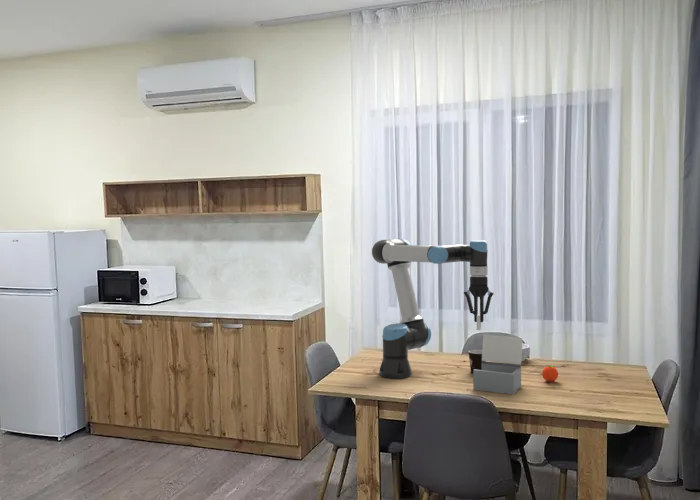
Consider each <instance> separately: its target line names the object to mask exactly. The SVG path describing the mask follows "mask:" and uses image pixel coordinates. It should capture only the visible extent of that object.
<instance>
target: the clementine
mask: <svg viewBox="0 0 700 500" xmlns="http://www.w3.org/2000/svg"><path fill="white" fill-rule="evenodd" d="M541 376H542V378H543V379H544V380H545V381H546V382H549V383H552V382H555V381H557V379H558V378H559V371H558V369H557V368H556V367H555V366H554V365H547V366H546V367H544V368H543V369H542V371H541Z"/></svg>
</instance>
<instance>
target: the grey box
mask: <svg viewBox="0 0 700 500" xmlns="http://www.w3.org/2000/svg"><path fill="white" fill-rule="evenodd" d="M472 375H473V380H472V381H473V382H472V383H473V385H472V386H473V387H472V388H473V390H475V391H483V392H489V391H491V392H490V393H497V392H499V393H498V394H505V393H507V394H506V395H513V394H514V395H515V394H516V393H517V392H518V390H519V389H521V387H522V364H521V365H518V364H509V363H499V362H490V361H482V370H476V369H474V370H473V374H472ZM516 391H517V392H516ZM515 392H516V393H515Z"/></svg>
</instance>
